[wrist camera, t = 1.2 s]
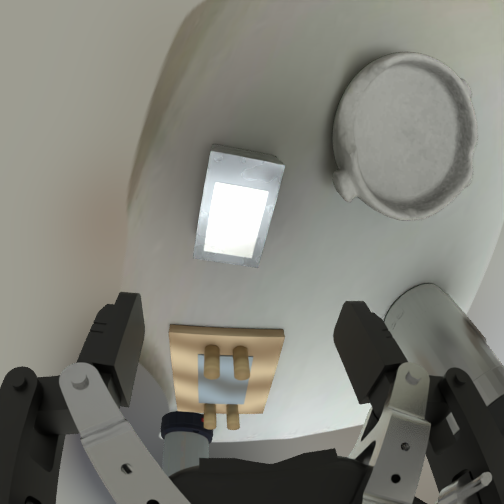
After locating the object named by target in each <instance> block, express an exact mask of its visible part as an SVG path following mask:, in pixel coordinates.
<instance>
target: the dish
mask: <svg viewBox="0 0 504 504" xmlns="http://www.w3.org/2000/svg"><path fill="white" fill-rule="evenodd" d="M471 96H472V92H471V89H470V86H469V85H468V84H467V82H466V81H465V80H463V79H461V78H459V76H458V75H457V74H456V73H455V72H454V71H453V70H452V69H451V68H450V67H448V66H447V65H445V64H444V63H442V62H441V61H439V60H437V59H435V58H433V57H430V56H428V55H424V54H420V53H415V52H399V53H393V54H389V55H386V56H383V57H381V58H379V59H377V60H375V61H373V62H371V63H370V64H368V65H367V66H365V67H364V68H363V69H362V70H361V71H360V72H359V73H358V74H357V75H356V76H355V77H354V78H353V80H352V81H351V82H350V84H349V85H348V87H347V88H346V90H345V92H344V94H343V96H342V98H341V100H340V103H339V105H338V108H337V111H336V115H335V120H334V125H333V151H334V156H335V160H336V163H337V166H338V168H339V170H337V171H335V172H334V173H333V183H334V186H335V188H336V190H337V192H338V193H339V194H340V195H341V196H342V198H343V199H344V200H345V201H347V202H351V201H352V200H353V199H354V198H355V197H356V196H357V197H359V198H360V199H361V200H362V201H363V202H365V203H366V204H367V205H369V206H370V207H371V208H373V209H374V210H376V211H378V212H379V213H381V214H383V215H386V216H388V217H391V218H394V219H398V220H403V221H409V220H420V219H424V218H427V217H430V216H432V215H434V214H436V213H437V212H439V211H440V210H442V209H443V208H444V207H446V206H447V205H448V204H449V203H450V202H451V201H453V200H454V199H455V198H456V197H457V196H458V195H459V194H460V193H461V191H462V190H463V189H464V188H466V187H467V186H468V185H469V184H470V183H471V181H472V178H473V165H472V162H473V154H474V150H475V147H476V145H477V140H478V135H477V122H476V116H475V112H474V107H473V104H472V101H471Z"/></svg>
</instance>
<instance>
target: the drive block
mask: <svg viewBox="0 0 504 504" xmlns="http://www.w3.org/2000/svg"><path fill="white" fill-rule="evenodd" d="M284 169H285V165H284V164H283V163H282V162H281V161H280V160H279V159H278V158H277V157H276V156H273V155H268V154H264V153H259V152H254V151H249V150H244V149H239V148H234V147H228V146H223V145H217V144H213V146H212V149H211V153H210V158H209V163H208V169H207V174H206V180H205V185H204V191H203V196H202V202H201V208H200V214H199V221H198V227H197V233H196V240H195V247H194V253H193V258H195V259H202V260H208V261H215V262H222V263H228V264H235V265H242V266H249V267H256V268H258V267H259V263H260V259H261V256H262V252H263V248H264V244H265V241H266V237H267V233H268V230H269V226H270V222H271V218H272V215H273V211H274V207H275V203H276V199H277V196H278V192H279V188H280V184H281V180H282V177H283V173H284Z"/></svg>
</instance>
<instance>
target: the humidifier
mask: <svg viewBox="0 0 504 504" xmlns="http://www.w3.org/2000/svg"><path fill="white" fill-rule="evenodd" d="M161 436H162V438H163V439H164V453H163V468H162V470H163V471H164V473H165V474H166V475H167V476H168V477H169V476H170V475H172V474H174V473H175V472H178V471H180V470H182V469H185V468H189V467H192V466H197V465H199V458H209V443H211V441H212V437H213V429H212V430H210V429H205V428H204V415H201V414H198V413H194V412H183V411H176V412H170V413H168V414H166V415H164V416H163V417H162V423H161Z"/></svg>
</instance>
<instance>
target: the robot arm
mask: <svg viewBox="0 0 504 504" xmlns="http://www.w3.org/2000/svg"><path fill="white" fill-rule="evenodd" d="M144 334H145V325H144V318H143V310H142V303H141V296H140V294H139V293H128V292H120V293H119V295H118V298H117V300H116V302H115V305H113V304H107V305H105V307H103V308H102V309H101V310H100V311H99V312H98V314H97V316H96V318H95V320H94V324H93V325H92V327H91V329H90V332H89V334H88V336H87V338H86V341H85V343H84V346H83V348H82V350H81V353H80V355H79V358H78V360H77V362H76V363H74V364H71V365H69V366H68V367H66V368H65V369H64V370H63V371H62V373H61V375H59V376H52V377H37V376H36V374H35V373H34V371H33V370H31V369H30V368H28V367H17V368H14V369H12V370H11V371H10V372H8V373H7V375H6V376H5V378H4V380H3V383H2V385H1V388H0V504H56V494H57V485H58V477H59V469H60V463H61V456H62V451H63V445H64V439H65V435H66V434H78V433H80V435H81V442H82V445H83V447H84V449H85V451H86V453H87V455H88V456H89V458H90V460H91V462H92V464H93V466H94V468H95V469H96V471H97V473H98V474H99V476H100V478H101V480H102V481H103V483H104V485H105V486H106V488H107V489H108V491H109V493H110V494H111V496H112V497H113V499H114V500H115V502H116V503H117V504H427V503H425V502H423V501H422V500H420V499H418V498H416V497H415V493H416V489H417V486H418V482H419V478H420V474H421V471H422V467H423V463H424V458H425V454H426V456H427V459H428V461H429V464H430V467H431V470H432V473H433V476H434V478H435V482H436V485H437V488H438V491H439V497H438V501H436V502H435V504H504V366H503V365H502V363H501V362H500V361H499V359H498V358H497V357H496V355H495V354H494V353H493V351H492V350H491V349H490V347H489V346H488V345H487V344H486V339H485V337H484V336H483V335H482V334H481V332H480V331H479V330H478V329H477V327H476V326H475V325H474V324H473V323H472V322H471V320H470V319H469V318H468V317H467V316H466V314H465V313H464V312H463V311H462V310H461V309H460V307H459V306H458V305H457V304H456V303H455V302H454V301H453V300H452V298H451V297H450V296H449V295H448V294H445V293H444V292H443V291H442V290H441V289H440V288H439V287H438V286H437V285H434V284H423V285H419V286H417V287H414V288H413V289H411V290H409V291H408V292H406V293H405V294H404V295H402V296H401V297H400V298H399V299H398V300H397V301H396V302H395V303H394V305H393V306H392V307H391V309H390V310H389V312H388V314H387V316H386V318H385V321H383V320H382V319H381V318H379V317H378V316H377V315H376V314H375V313H371V311H370V310H369V308H368V307H367V305H366V303H365V302H364V301H346V302H345V303H344V304H343V307H342V310H341V312H340V315H339V318H338V321H337V323H336V326H335V329H334V335H333V337H334V343H335V346H336V348H337V350H338V353H339V355H340V358H341V360H342V362H343V365H344V367H345V370H346V372H347V374H348V377H349V379H350V382H351V384H352V387H353V389H354V392H355V394H356V396H357V399H358V401H359V404H365V403H371V405H372V407H371V409H370V410H369V412H368V415H367V418H366V420H365V423H364V426H363V428H362V431H361V433H360V436H359V438H358V441H357V443H356V445H355V447H354V449H353V451H352V452H351V453H350V455H349V456H348V457H342V456H337V453H336V450H335V448H334V449H329V450H322V451H316V452H309V453H303V454H301V455H298V456H295V457H292V458H290V459H287V460H284V461H281V462H278V463H274V464H265V463H258V462H252V461H246V460H240V459H235V458H199V465H197V466H192V467H189V468H185V469H182V470H180V471H178V472H175V473H174V474H172V475H170V476H169V477H168V476H167V475H166V474H165V473H164V471H163V470H162V469H161V468H160V466H159V465H158V464H157V462H156V461H155V460H154V458H153V457H152V456H151V454H150V453H149V451H148V450H147V449H146V447H145V446H144V444H143V443H142V442H141V440H140V438H139V437H138V436H137V434H136V433H135V431H134V430H133V428H132V427H131V425H130V424H129V422H128V421H127V420H126V419H125V418H124V417H123V415H122V413H121V412H120V410H119V409H120V406H124V407H129V405H130V399H131V395H132V390H133V385H134V380H135V375H136V371H137V366H138V362H139V358H140V353H141V349H142V345H143V341H144Z"/></svg>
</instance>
